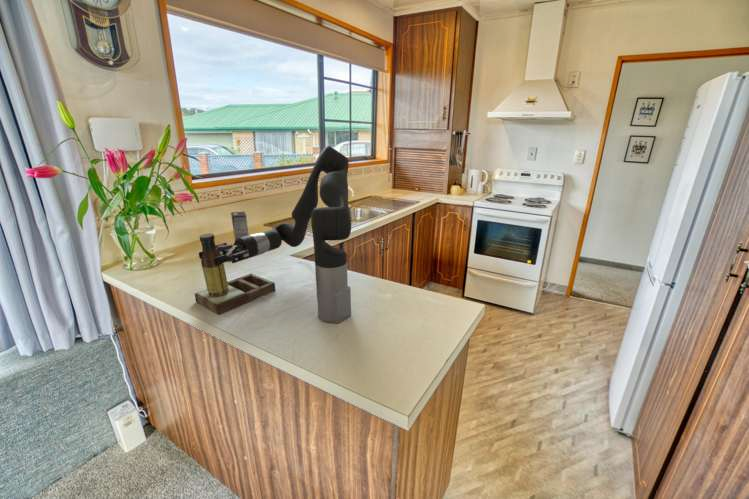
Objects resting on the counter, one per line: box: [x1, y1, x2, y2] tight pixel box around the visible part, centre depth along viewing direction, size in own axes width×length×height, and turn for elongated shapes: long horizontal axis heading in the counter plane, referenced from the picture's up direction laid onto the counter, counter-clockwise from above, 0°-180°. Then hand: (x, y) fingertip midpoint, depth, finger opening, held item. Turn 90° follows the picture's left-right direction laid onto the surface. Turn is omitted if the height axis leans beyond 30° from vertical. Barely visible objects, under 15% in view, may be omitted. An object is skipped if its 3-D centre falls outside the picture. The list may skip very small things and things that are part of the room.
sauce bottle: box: [199, 233, 229, 297], centre depth 107 cm, size 6×6×20 cm
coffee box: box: [230, 211, 249, 241], centre depth 165 cm, size 9×6×16 cm
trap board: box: [194, 273, 276, 316], centre depth 116 cm, size 14×21×3 cm, turn 143°
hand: (206, 258), depth 105 cm, fingers open, 8 cm apart
